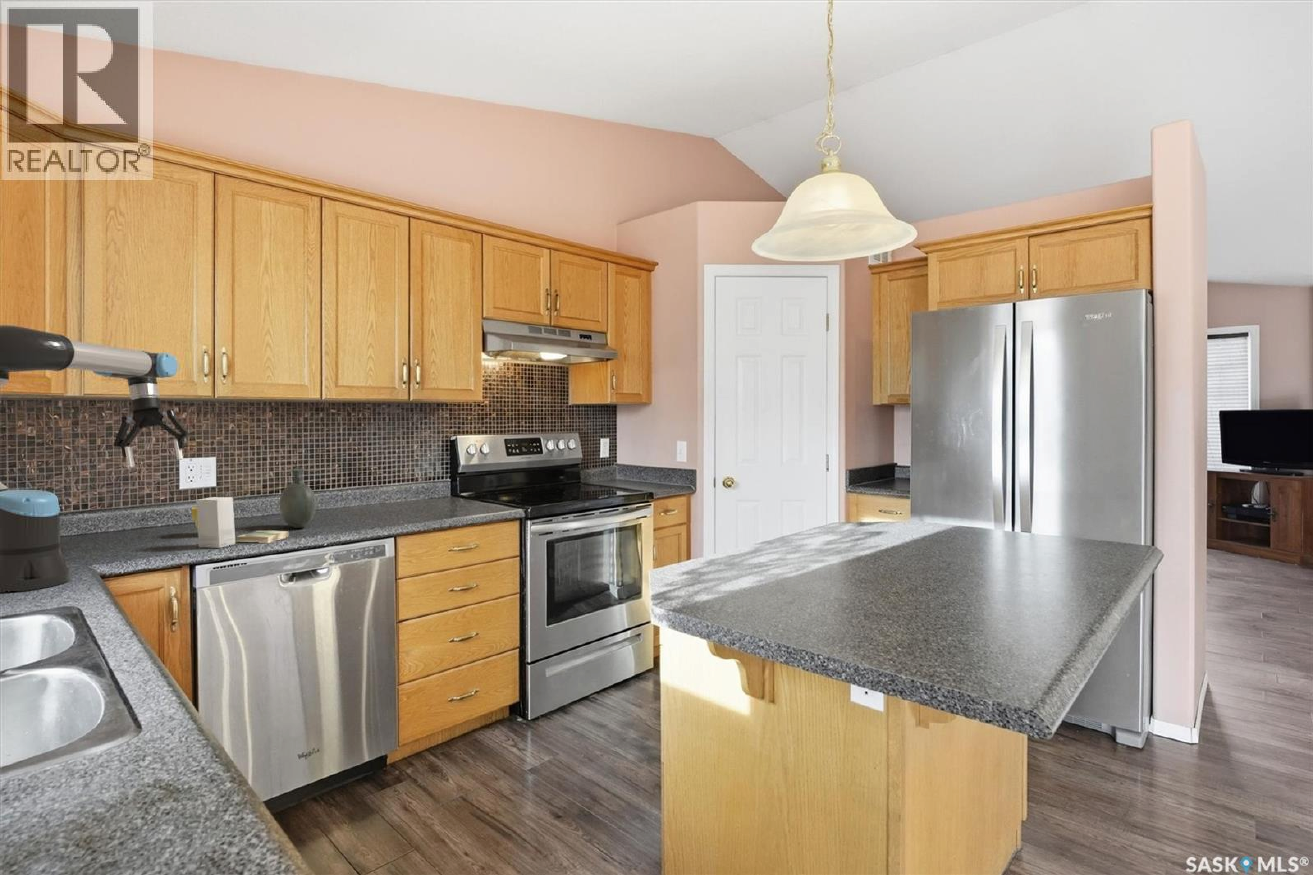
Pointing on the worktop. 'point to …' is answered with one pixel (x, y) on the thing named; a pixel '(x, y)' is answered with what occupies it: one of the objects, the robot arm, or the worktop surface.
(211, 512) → the skincare box
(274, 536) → the birch board
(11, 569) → the robot arm
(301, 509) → the flask
